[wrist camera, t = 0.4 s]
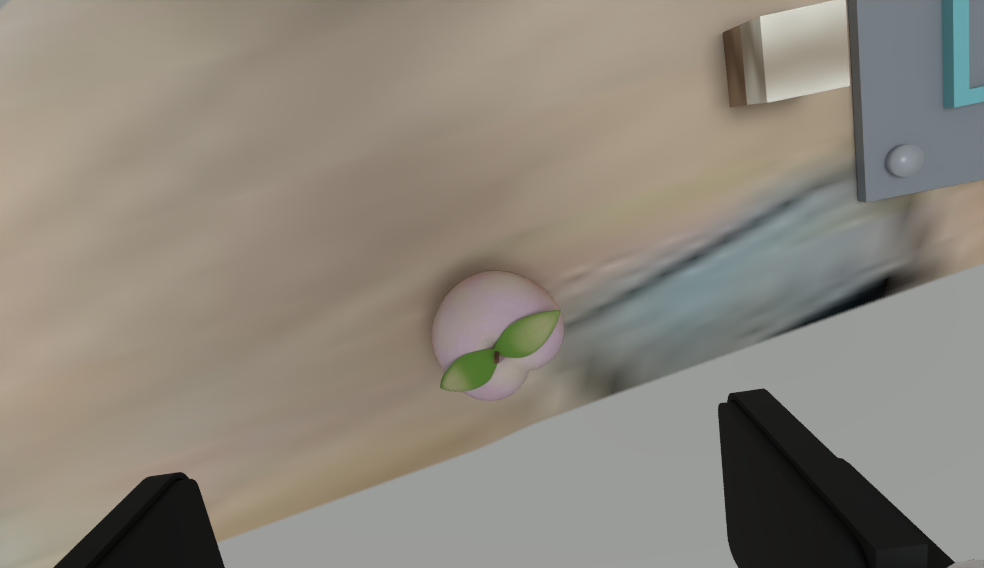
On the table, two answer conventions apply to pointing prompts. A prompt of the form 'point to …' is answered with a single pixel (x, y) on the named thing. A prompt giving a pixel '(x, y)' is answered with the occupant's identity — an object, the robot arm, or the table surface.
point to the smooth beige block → (788, 54)
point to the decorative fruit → (495, 334)
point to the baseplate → (917, 94)
